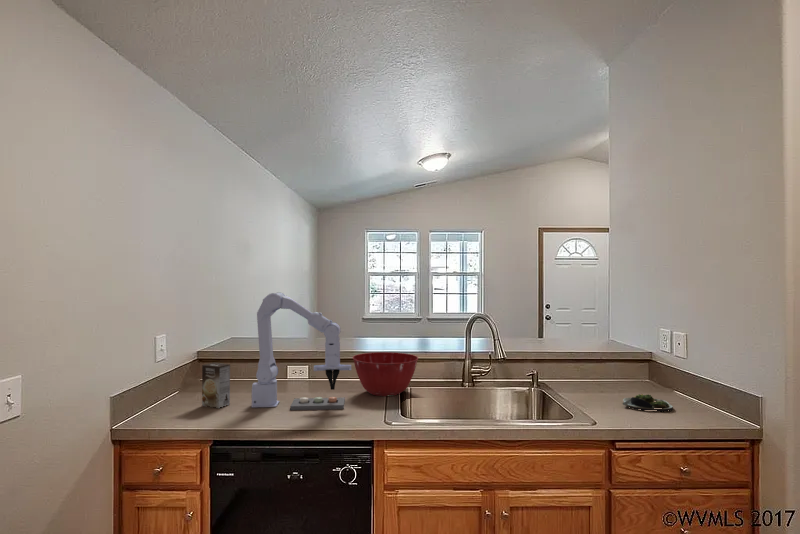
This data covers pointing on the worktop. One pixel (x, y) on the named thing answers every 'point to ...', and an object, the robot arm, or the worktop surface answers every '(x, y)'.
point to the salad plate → (647, 403)
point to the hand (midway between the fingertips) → (332, 389)
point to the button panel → (317, 404)
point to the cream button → (304, 400)
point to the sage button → (318, 400)
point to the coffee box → (216, 384)
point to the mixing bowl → (385, 372)
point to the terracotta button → (332, 399)
